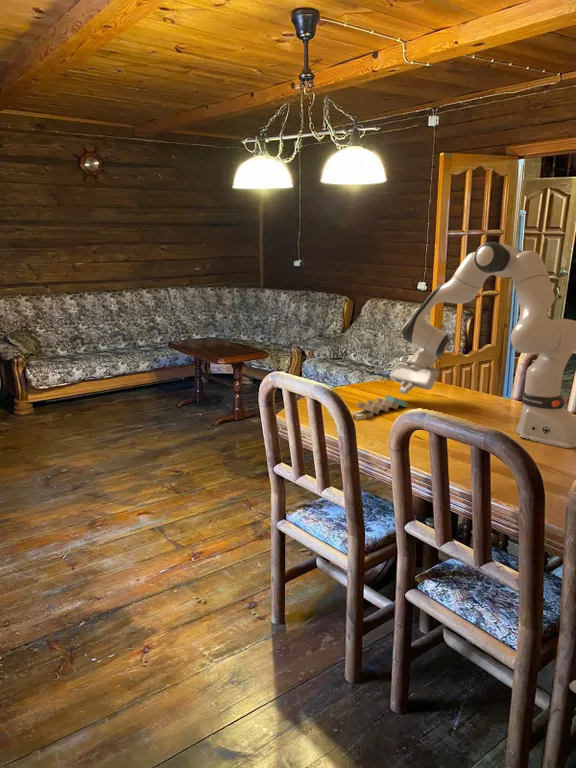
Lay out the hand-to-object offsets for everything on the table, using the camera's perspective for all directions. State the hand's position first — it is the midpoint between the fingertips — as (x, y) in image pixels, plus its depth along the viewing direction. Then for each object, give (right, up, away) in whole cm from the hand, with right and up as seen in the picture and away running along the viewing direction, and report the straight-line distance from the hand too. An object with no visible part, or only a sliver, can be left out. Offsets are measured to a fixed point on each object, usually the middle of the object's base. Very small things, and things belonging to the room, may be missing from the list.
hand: (402, 392), depth 234 cm
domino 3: (-8, -6, -5) cm, 11 cm away
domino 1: (-12, -7, -9) cm, 17 cm away
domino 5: (0, -4, +1) cm, 5 cm away
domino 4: (-4, -5, -2) cm, 7 cm away
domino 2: (-15, -8, -10) cm, 20 cm away
